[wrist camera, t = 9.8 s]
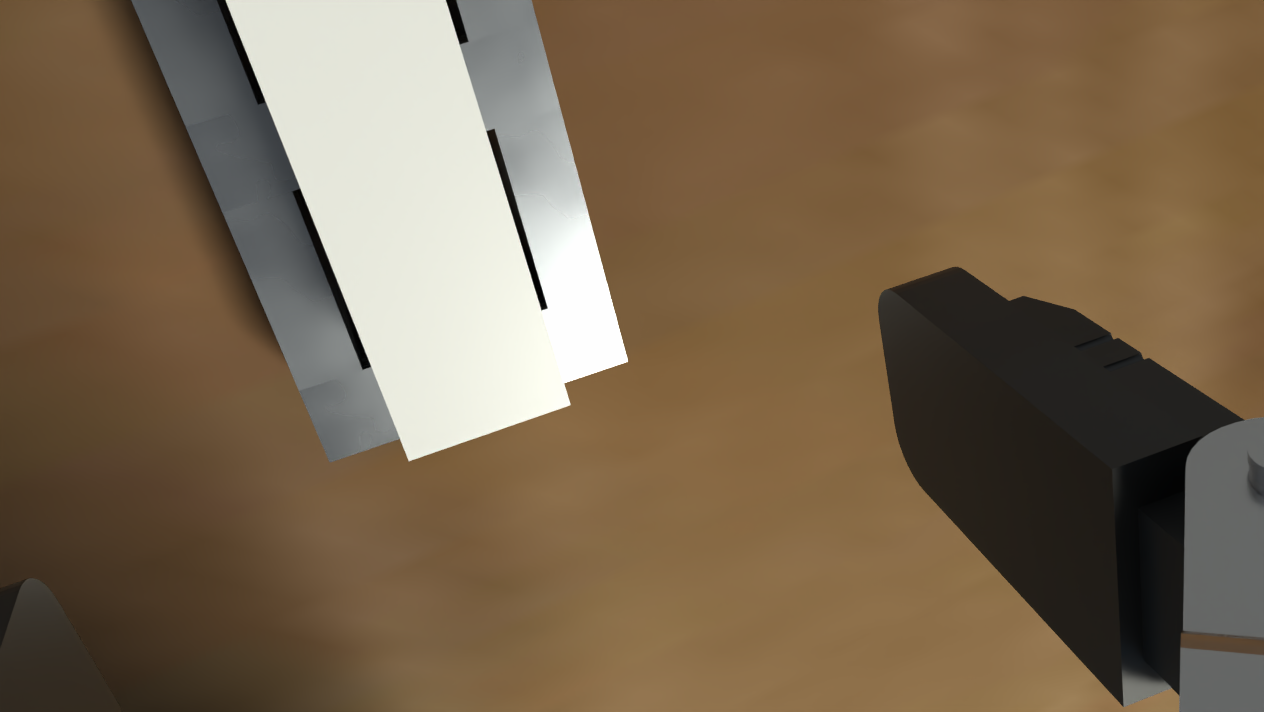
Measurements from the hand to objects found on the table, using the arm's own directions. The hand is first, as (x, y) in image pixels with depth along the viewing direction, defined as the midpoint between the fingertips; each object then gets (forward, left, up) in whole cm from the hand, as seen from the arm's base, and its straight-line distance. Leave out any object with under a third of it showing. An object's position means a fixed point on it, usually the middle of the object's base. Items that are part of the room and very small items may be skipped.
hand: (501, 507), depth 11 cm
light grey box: (0, 0, -17) cm, 17 cm away
